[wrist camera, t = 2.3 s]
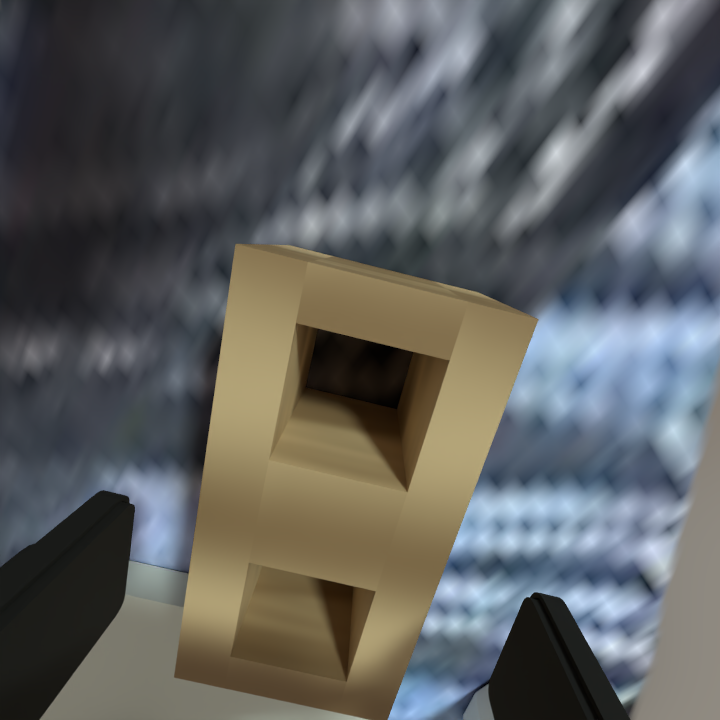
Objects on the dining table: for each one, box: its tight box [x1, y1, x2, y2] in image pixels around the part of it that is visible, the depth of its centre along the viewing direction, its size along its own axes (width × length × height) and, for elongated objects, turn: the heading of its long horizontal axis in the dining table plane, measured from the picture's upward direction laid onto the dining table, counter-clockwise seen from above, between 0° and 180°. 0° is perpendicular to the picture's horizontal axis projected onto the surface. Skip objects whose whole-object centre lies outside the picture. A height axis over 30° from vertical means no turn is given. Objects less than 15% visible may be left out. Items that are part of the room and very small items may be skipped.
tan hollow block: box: [174, 244, 538, 720], centre depth 12 cm, size 12×6×5 cm, turn 166°
